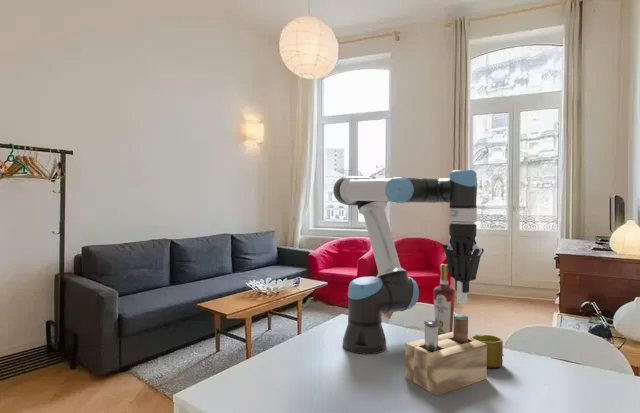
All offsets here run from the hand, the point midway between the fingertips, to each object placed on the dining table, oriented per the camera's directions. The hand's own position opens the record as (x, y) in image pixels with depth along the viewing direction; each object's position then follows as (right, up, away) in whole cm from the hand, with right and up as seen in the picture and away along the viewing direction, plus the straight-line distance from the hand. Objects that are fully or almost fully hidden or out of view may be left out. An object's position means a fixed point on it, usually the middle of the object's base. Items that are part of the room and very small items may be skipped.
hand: (461, 302), depth 114 cm
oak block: (-5, -21, -2) cm, 22 cm away
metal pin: (-11, -14, -5) cm, 19 cm away
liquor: (+3, -21, +26) cm, 33 cm away
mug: (+11, -21, +10) cm, 26 cm away
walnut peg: (0, -14, +1) cm, 14 cm away
